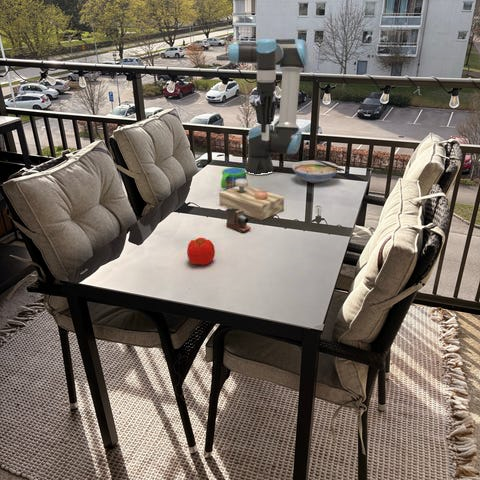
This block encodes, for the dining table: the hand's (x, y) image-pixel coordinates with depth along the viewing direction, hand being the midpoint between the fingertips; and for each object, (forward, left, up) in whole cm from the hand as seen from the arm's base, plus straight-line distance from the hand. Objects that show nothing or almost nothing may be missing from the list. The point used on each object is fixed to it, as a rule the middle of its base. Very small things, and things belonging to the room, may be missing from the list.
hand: (265, 140), depth 194 cm
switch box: (+12, +3, -26) cm, 29 cm away
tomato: (+59, +24, -27) cm, 69 cm away
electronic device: (+31, +14, -27) cm, 43 cm away
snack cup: (+2, -17, -27) cm, 32 cm away
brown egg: (+12, +9, -25) cm, 29 cm away
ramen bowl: (-36, +1, -27) cm, 45 cm away
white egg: (+12, -3, -22) cm, 25 cm away
